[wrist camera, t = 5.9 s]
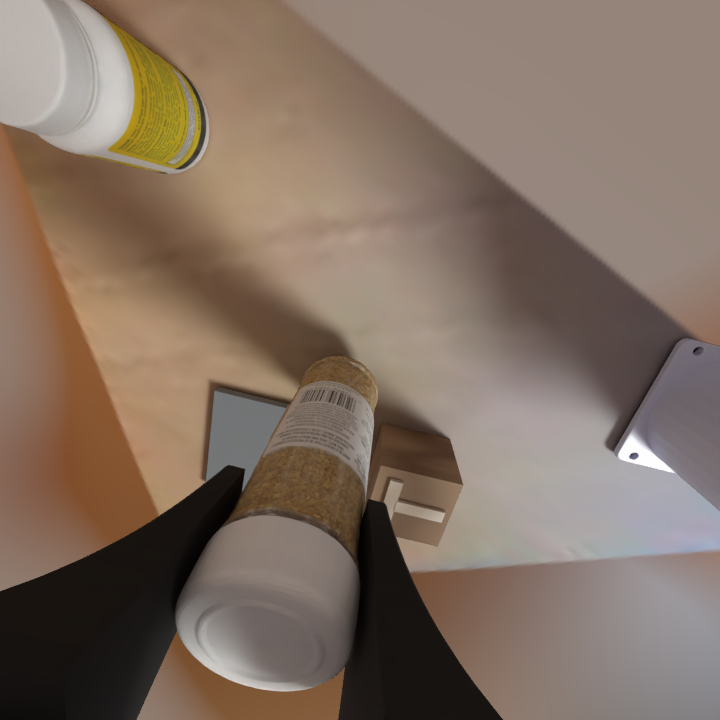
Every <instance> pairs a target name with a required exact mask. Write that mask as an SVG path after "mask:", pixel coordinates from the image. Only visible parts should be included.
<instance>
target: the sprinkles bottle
mask: <svg viewBox="0 0 720 720" xmlns="http://www.w3.org/2000/svg"><path fill="white" fill-rule="evenodd" d="M377 401H378V385H377V383H376V381H375V378H374V376H373V375H372V374H371V372H370V371H369V370H368V369H367V368H366V367H365V366H364V365H363V364H362V363H360V362H358V361H356V360H354V359H351V358H346V357H343V356H330V357H326V358H323V359H321V360H319V361H317V362H315V363H314V364H313V365H311V366H310V367H309V368H308V369H307V370H306V372H305V373H304V375H303V378H302V380H301V383H300V387H299V389H298V391H297V393H296V394H295V396H294V398H293V400H292V402H291V403H290V404H289V405H288V407H287V408H286V410H285V412H284V413H283V415H282V417H281V419H280V420H279V422H278V424H277V426H276V428H275V430H274V431H273V433H272V435H271V437H270V439H269V441H268V445H267V447H266V448H265V450H264V452H263V454H262V455H261V457H260V459H259V461H258V463H257V465H256V467H255V468H254V470H253V473H252V475H251V478H250V479H249V481H248V482H247V484H246V486H245V488H244V490H243V492H242V493H241V495H240V499H239V500H238V502H237V503H236V506H235V509H234V510H233V511H232V513H231V515H230V517H229V518H228V520H227V521H226V522H225V523H224V524H223V525H222V526H221V527H220V528H219V529H218V531H217V532H216V533H215V534H214V535H213V536H212V538H211V539H210V540H209V542H208V543H207V545H206V547H205V548H204V550H203V552H202V554H201V555H200V557H199V559H198V561H197V563H196V564H195V566H194V568H193V570H192V572H191V574H190V576H189V578H188V580H187V581H186V583H185V585H184V587H183V589H182V591H181V593H180V596H179V598H178V600H177V604H176V608H175V623H176V628H177V631H178V634H179V636H180V638H181V639H182V641H183V643H184V645H185V646H186V648H187V649H188V650H189V651H190V653H191V654H192V655H193V656H194V657H195V658H196V659H198V660H199V661H200V662H201V663H202V664H203V665H205V666H206V667H208V668H209V669H210V670H212V671H214V672H215V673H217V674H219V675H221V676H223V677H225V678H227V679H229V680H231V681H234V682H237V683H240V684H243V685H246V686H250V687H254V688H258V689H264V690H272V691H296V690H303V689H309V688H313V687H316V686H318V685H320V684H323V683H325V682H327V681H329V680H330V679H332V678H334V677H335V676H336V675H337V674H339V672H341V671H342V669H343V668H344V667H345V665H346V664H347V662H348V661H349V659H350V657H351V654H352V651H353V647H354V641H355V633H356V626H357V618H358V609H359V599H360V576H359V563H358V559H357V558H358V546H359V540H360V527H361V524H362V516H363V511H364V507H365V501H366V493H367V483H368V473H369V465H370V456H371V448H372V439H373V430H374V409H375V406H376V404H377Z"/></svg>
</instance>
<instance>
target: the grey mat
mask: <svg viewBox="0 0 720 720" xmlns="http://www.w3.org/2000/svg"><path fill="white" fill-rule="evenodd" d="M288 405H289V404H287V403H283V402H279V401H275V400H271V399H267V398H263V397H259V396H255V395H250V394H246V393H242V392H238V391H234V390H230V389H226V388H222V387H218V388H217V389H216V390H215V391H214V401H213V412H212V422H211V433H210V443H209V453H208V464H207V474H206V482H207V481H208V480H210V479H211V478H212V477H213V476H214V475H216V474H217V473H218V472H219V471H221V470H222V469H223V468H224V467H225V466H227V465H231V466H236V467H240V468H244V469H245V475H244V481H243V488H242V492H243V490H244V488H245V486H246V484H247V482H248V481H249V479H250V478H251V475H252V473H253V470H254V468H255V467H256V465H257V463H258V461H259V459H260V457H261V455H262V454H263V452H264V450H265V448H266V447H267V445H268V441H269V439H270V437H271V435H272V433H273V431H274V430H275V428H276V426H277V424H278V422H279V420H280V419H281V417H282V415H283V413H284V412H285V410H286V408H287V407H288Z"/></svg>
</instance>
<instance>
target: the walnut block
mask: <svg viewBox="0 0 720 720" xmlns="http://www.w3.org/2000/svg"><path fill="white" fill-rule="evenodd" d="M462 487H463V483H462V479H461V476H460V472H459V469H458V465H457V462H456V458H455V455H454V451H453V448H452V444H451V441H450V439H447V438H443V437H439V436H435V435H431V434H427V433H422V432H418V431H414V430H410V429H406V428H402V427H398V426H393V425H389V424H385V423H382V425H381V429H380V432H379V436H378V439H377V442H376V446H375V449H374V453H373V456H372V460H371V463H370V466H369V473H368V483H367V493H366V501H365V507H366V504H367V501H368V499H371V500H375V501H379V502H383V503H385V504H386V506H387V509H388V513H389V517H390V520H391V524H392V527H393V530H394V533H395V536H396V537H400V538H404V539H408V540H413V541H417V542H421V543H425V544H430V545H434V546H438V544H439V542H440V540H441V537H442V535H443V532H444V530H445V528H446V525H447V523H448V520H449V518H450V516H451V513H452V511H453V508H454V506H455V504H456V501H457V499H458V496H459V494H460V492H461V489H462ZM365 507H364V510H365ZM363 514H364V511H363Z"/></svg>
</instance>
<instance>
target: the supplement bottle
mask: <svg viewBox="0 0 720 720" xmlns="http://www.w3.org/2000/svg"><path fill="white" fill-rule="evenodd" d="M0 123H3V124H6V125H9V126H13V127H16V128H19V129H23V130H26V131H29V132H32V133H35V134H37V135H38V136H39V137H40V138H42V139H43V140H45V141H46V142H48V143H50V144H51V145H53V146H55V147H57V148H60V149H62V150H65V151H67V152H70V153H74V154H78V155H82V156H87V157H92V158H96V159H101V160H105V161H109V162H114V163H118V164H123V165H127V166H132V167H136V168H140V169H145V170H149V171H154V172H159V173H164V174H176V173H181V172H184V171H186V170H188V169H190V168H191V167H193V166H194V165H195V164H196V163H197V162H198V161H199V160H200V159H201V158H202V156H203V154H204V152H205V150H206V148H207V144H208V140H209V132H210V126H209V117H208V113H207V109H206V106H205V103H204V101H203V99H202V97H201V95H200V93H199V91H198V90H197V88H196V87H195V86H194V84H193V83H192V82H191V81H190V80H189V79H188V78H187V77H186V76H185V75H184V74H183V73H182V72H180V71H179V70H178V69H176V68H175V67H174V66H172V65H171V64H169V63H168V62H167V61H165V60H164V59H163V58H161V57H160V56H159V55H157V54H156V53H154V52H153V51H152V50H150V49H149V48H148V47H146V46H145V45H143V44H142V43H141V42H139V41H138V40H137V39H136V38H134V37H133V36H131V35H130V34H128V33H127V32H125V31H124V30H123V29H121V28H120V27H119V26H117V25H116V24H115V23H113V22H112V21H111V20H109V19H108V18H106V17H105V16H104V15H102V14H101V13H100V12H98V11H97V10H96V9H94V8H92V7H91V6H89V5H87V4H86V3H84V2H83V1H81V0H0Z"/></svg>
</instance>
